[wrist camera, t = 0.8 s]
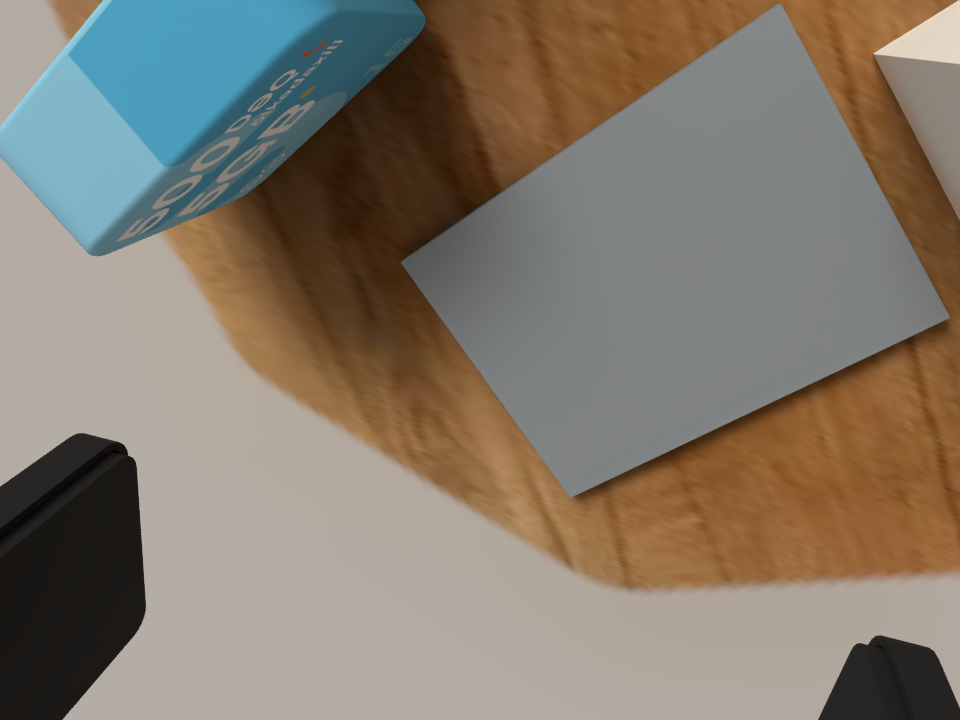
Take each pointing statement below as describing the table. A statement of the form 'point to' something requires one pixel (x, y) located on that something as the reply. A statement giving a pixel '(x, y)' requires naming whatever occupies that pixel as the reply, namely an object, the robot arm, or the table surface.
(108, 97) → the data package
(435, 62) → the table surface
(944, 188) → the slab
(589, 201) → the board
